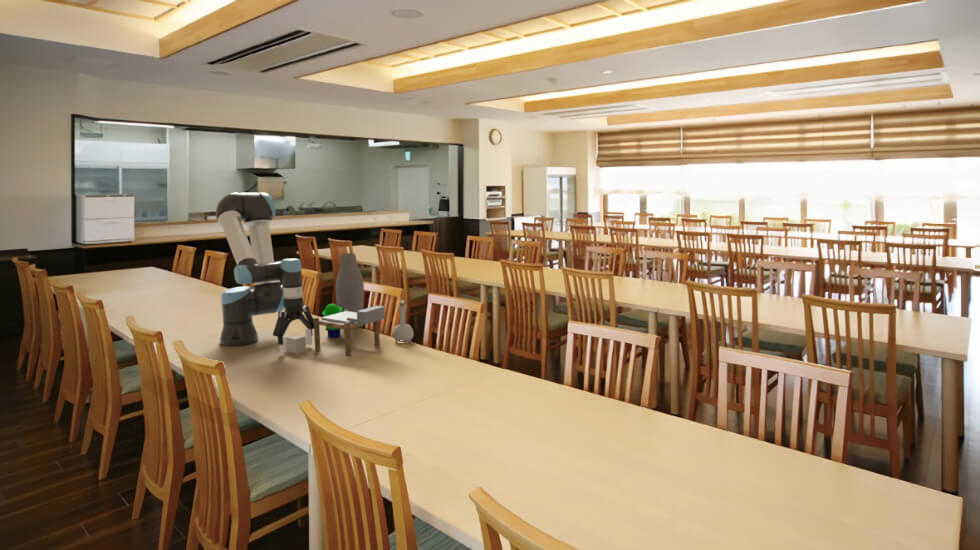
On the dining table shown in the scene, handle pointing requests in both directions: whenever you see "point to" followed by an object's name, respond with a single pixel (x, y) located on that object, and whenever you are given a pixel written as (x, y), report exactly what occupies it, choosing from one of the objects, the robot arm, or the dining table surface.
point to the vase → (349, 284)
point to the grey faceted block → (358, 316)
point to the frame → (346, 327)
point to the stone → (295, 344)
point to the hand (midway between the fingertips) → (296, 348)
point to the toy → (332, 331)
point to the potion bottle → (403, 326)
